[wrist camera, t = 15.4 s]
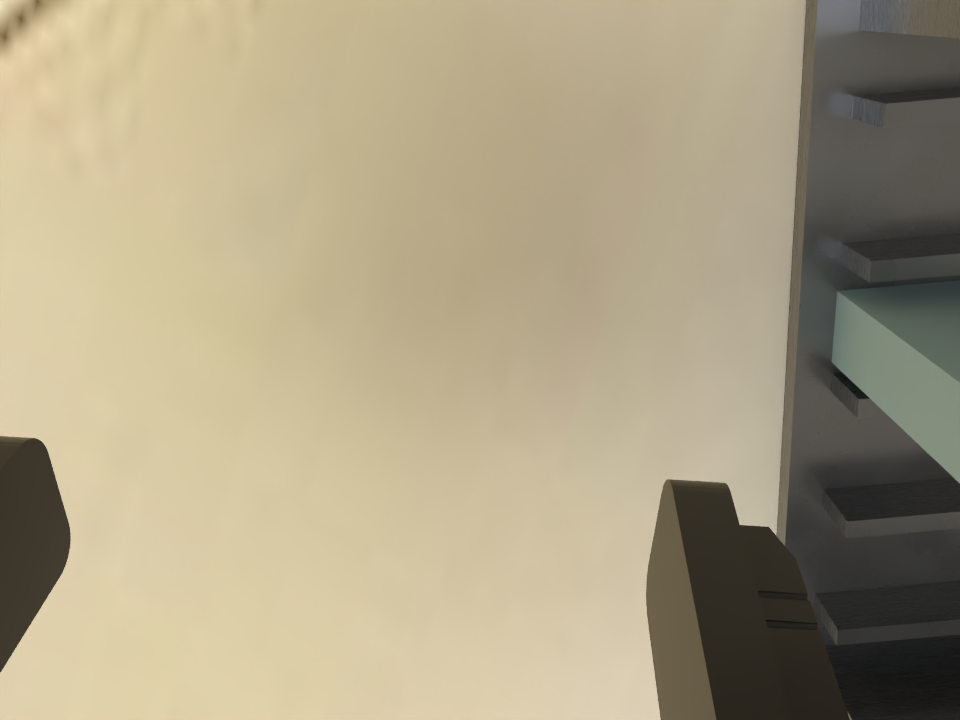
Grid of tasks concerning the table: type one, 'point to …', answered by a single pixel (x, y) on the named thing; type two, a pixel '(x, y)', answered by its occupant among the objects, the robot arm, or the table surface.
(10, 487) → the robot arm
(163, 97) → the table surface
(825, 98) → the rack
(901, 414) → the tall pale blue pillar
